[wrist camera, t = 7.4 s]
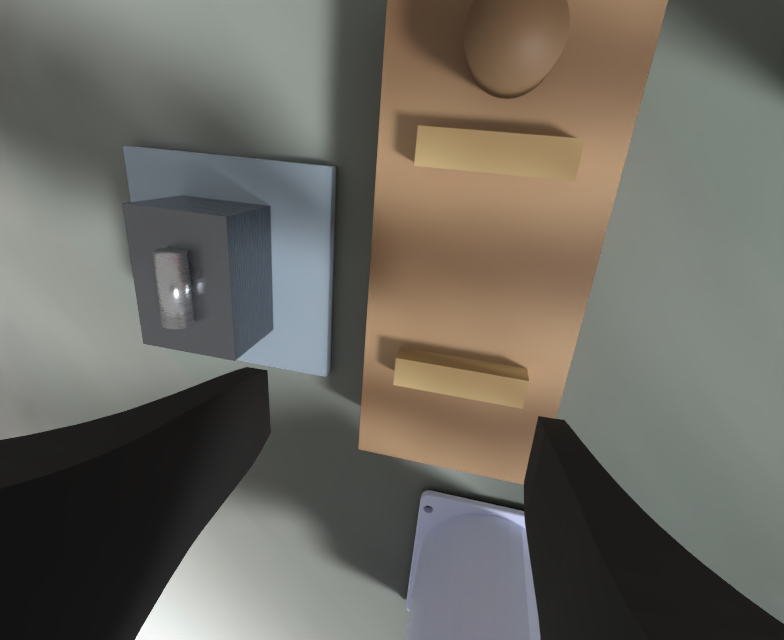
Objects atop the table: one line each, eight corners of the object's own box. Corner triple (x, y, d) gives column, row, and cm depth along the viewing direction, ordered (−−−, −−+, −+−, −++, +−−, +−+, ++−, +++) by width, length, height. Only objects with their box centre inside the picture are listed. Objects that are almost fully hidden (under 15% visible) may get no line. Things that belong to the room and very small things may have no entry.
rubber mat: (330, 371, 22) (326, 376, 22) (158, 340, 24) (151, 344, 23) (336, 166, 19) (331, 167, 18) (132, 145, 20) (122, 145, 20)
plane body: (531, 444, 21) (543, 532, 16) (374, 413, 23) (341, 485, 18) (641, 6, 14) (717, -68, 10) (407, -1, 16) (368, -69, 11)
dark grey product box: (273, 329, 21) (221, 371, 17) (193, 315, 22) (125, 353, 18) (270, 205, 19) (209, 220, 15) (181, 195, 20) (100, 206, 16)
